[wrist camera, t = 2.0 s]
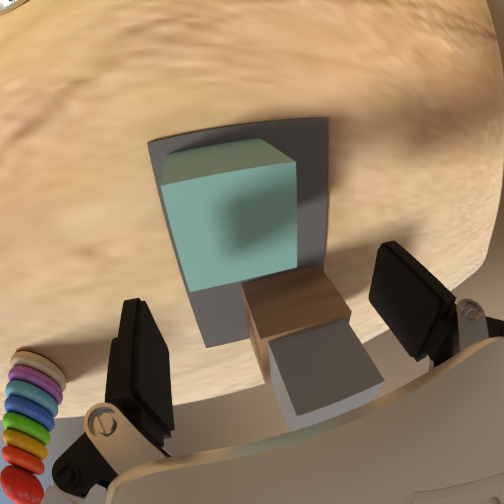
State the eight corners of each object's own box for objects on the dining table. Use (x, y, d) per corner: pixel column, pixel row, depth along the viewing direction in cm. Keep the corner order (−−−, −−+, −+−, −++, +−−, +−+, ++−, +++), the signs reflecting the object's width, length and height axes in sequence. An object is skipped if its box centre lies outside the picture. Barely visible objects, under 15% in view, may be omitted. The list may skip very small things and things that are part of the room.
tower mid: (267, 341, 18) (297, 416, 14) (344, 317, 19) (384, 380, 15) (271, 380, 22) (293, 441, 17) (334, 360, 23) (362, 414, 18)
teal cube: (165, 154, 16) (160, 186, 11) (259, 138, 17) (295, 161, 12) (184, 236, 19) (189, 292, 14) (265, 219, 20) (296, 267, 15)
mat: (148, 142, 15) (147, 143, 15) (325, 117, 17) (328, 118, 17) (205, 345, 27) (206, 348, 27) (316, 316, 29) (317, 319, 28)
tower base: (240, 283, 23) (260, 339, 18) (318, 264, 24) (351, 311, 19) (249, 335, 27) (265, 385, 22) (313, 317, 28) (338, 361, 23)
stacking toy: (43, 345, 22) (24, 509, 7) (78, 384, 26) (78, 522, 11) (1, 349, 21) (-23, 487, 6) (36, 385, 25) (28, 507, 10)
